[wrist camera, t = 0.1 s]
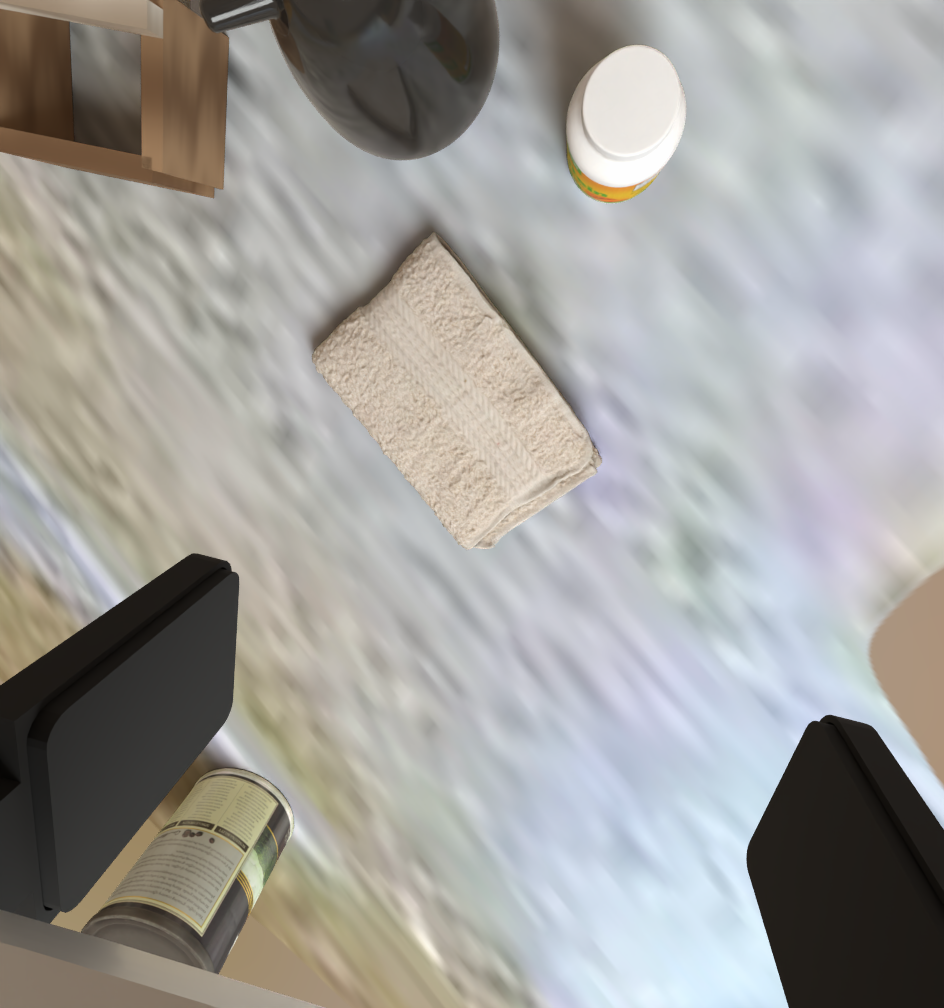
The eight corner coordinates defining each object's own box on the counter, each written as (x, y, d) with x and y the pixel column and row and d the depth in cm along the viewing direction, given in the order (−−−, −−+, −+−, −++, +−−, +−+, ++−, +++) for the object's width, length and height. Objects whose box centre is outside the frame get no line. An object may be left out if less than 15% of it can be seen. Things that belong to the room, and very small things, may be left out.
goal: (50, 5, 36) (-71, -61, 29) (228, 37, 35) (147, -22, 28) (58, 165, 39) (-49, 140, 32) (222, 200, 38) (147, 180, 31)
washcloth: (478, 550, 44) (472, 568, 41) (312, 355, 41) (292, 360, 38) (614, 453, 40) (617, 466, 37) (440, 230, 37) (428, 225, 34)
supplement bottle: (547, 153, 34) (537, 104, 25) (622, 71, 32) (640, -13, 23) (609, 226, 35) (621, 204, 26) (685, 150, 33) (727, 98, 24)
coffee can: (316, 834, 56) (237, 1002, 43) (235, 863, 59) (138, 1027, 46) (251, 751, 53) (146, 902, 40) (171, 786, 57) (49, 935, 43)
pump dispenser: (297, 25, 34) (102, -162, 20) (462, -84, 31) (370, -392, 17) (376, 205, 37) (252, 153, 22) (534, 119, 34) (507, -2, 20)
